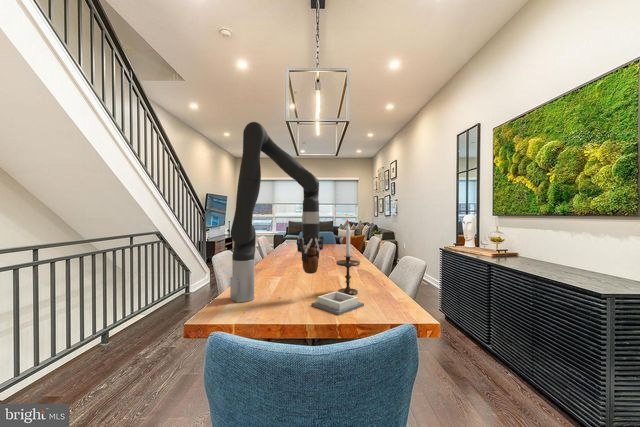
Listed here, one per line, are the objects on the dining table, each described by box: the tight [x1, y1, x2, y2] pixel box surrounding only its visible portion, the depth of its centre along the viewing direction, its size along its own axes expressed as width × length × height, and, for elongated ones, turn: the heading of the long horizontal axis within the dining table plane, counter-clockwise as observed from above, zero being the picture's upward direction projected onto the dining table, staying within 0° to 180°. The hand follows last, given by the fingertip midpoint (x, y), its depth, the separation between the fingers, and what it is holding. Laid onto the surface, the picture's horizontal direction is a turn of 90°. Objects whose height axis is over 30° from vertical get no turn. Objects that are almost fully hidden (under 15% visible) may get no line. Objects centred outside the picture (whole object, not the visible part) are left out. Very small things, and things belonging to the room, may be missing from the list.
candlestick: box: [335, 218, 361, 296], centre depth 135 cm, size 11×11×35 cm
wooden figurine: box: [302, 242, 319, 274], centre depth 125 cm, size 7×6×15 cm
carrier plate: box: [311, 290, 365, 316], centre depth 117 cm, size 15×15×4 cm
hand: (310, 260), depth 125 cm, fingers closed on wooden figurine, 6 cm apart
